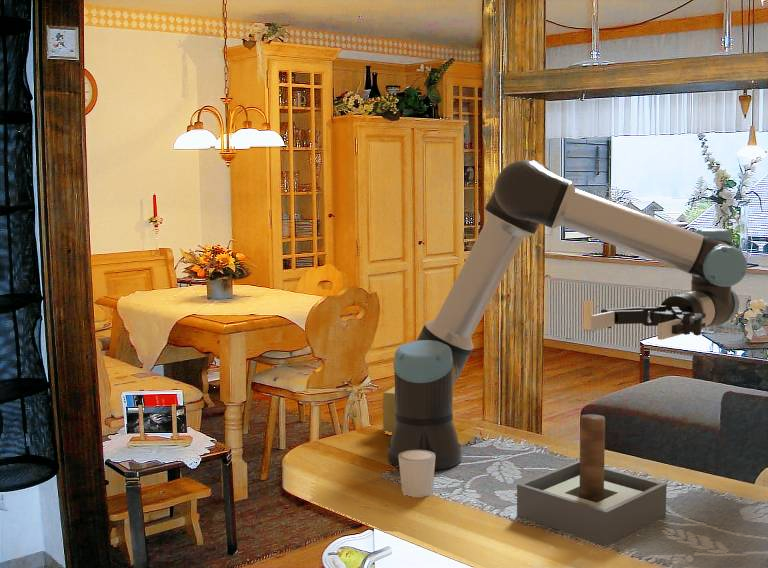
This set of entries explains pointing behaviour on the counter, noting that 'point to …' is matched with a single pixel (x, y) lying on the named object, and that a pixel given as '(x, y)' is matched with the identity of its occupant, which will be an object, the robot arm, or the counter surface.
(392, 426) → the cheese
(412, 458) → the white cup
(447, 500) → the counter surface
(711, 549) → the counter surface
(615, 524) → the open box
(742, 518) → the counter surface
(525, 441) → the counter surface
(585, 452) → the peg
